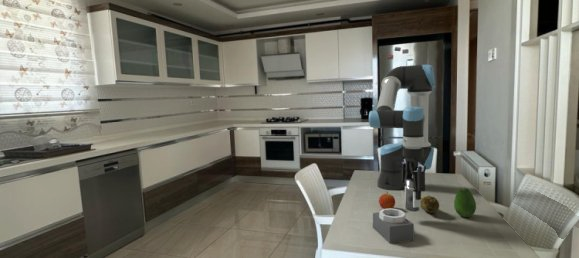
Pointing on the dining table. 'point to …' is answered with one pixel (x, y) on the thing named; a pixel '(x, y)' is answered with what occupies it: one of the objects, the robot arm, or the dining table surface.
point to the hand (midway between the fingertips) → (412, 204)
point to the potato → (429, 204)
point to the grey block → (393, 225)
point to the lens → (410, 195)
